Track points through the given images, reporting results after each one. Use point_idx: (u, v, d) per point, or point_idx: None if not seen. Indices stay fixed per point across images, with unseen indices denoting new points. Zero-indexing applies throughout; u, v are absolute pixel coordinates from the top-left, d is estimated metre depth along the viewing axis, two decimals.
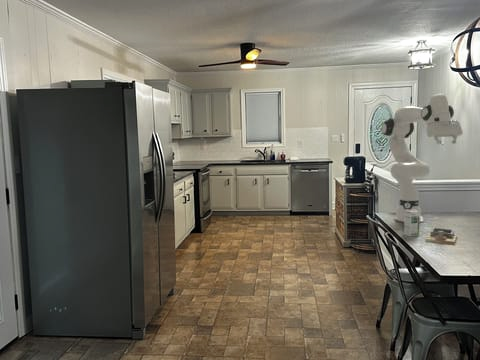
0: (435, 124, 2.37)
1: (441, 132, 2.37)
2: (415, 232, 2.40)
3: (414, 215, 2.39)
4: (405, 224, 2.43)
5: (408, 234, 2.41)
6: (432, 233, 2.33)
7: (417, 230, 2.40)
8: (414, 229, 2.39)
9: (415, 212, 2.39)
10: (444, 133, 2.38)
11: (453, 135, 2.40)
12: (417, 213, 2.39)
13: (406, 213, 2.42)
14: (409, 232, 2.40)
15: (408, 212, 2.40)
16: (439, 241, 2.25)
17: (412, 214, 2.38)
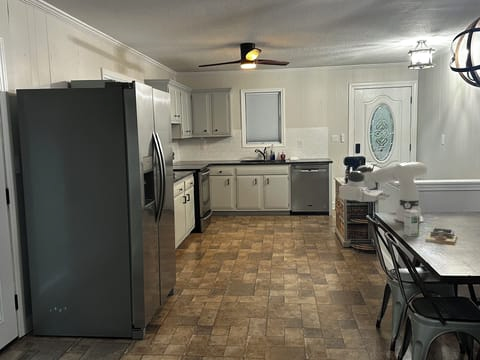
0: (366, 192, 2.47)
1: (375, 193, 2.47)
2: (415, 232, 2.40)
3: (414, 215, 2.39)
4: (405, 224, 2.43)
5: (408, 234, 2.41)
6: (432, 233, 2.33)
7: (417, 230, 2.40)
8: (414, 229, 2.39)
9: (415, 212, 2.39)
10: (377, 193, 2.48)
11: (381, 194, 2.54)
12: (417, 213, 2.39)
13: (406, 213, 2.42)
14: (409, 232, 2.40)
15: (408, 212, 2.40)
16: (439, 241, 2.25)
17: (412, 214, 2.38)
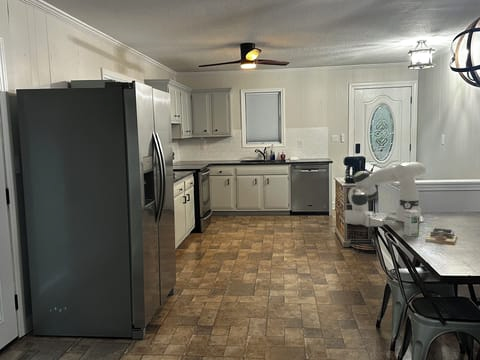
0: (372, 217, 2.46)
1: (382, 218, 2.46)
2: (415, 232, 2.40)
3: (414, 215, 2.39)
4: (405, 224, 2.43)
5: (408, 234, 2.41)
6: (432, 233, 2.33)
7: (417, 230, 2.40)
8: (414, 229, 2.39)
9: (415, 212, 2.39)
10: (383, 217, 2.48)
11: (387, 218, 2.54)
12: (417, 213, 2.39)
13: (406, 213, 2.42)
14: (409, 232, 2.40)
15: (408, 212, 2.40)
16: (439, 241, 2.25)
17: (412, 214, 2.38)
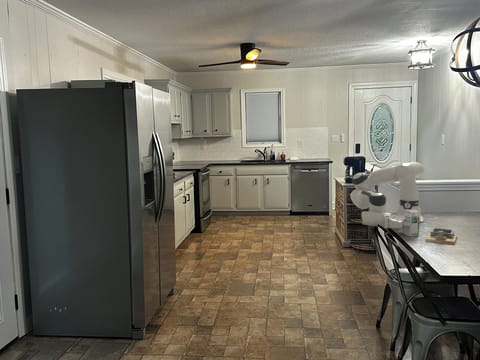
0: (391, 218, 2.41)
1: (401, 219, 2.41)
2: (415, 232, 2.40)
3: (414, 215, 2.39)
4: None
5: (408, 234, 2.41)
6: (432, 233, 2.33)
7: (417, 230, 2.40)
8: (414, 229, 2.39)
9: (415, 212, 2.39)
10: (402, 219, 2.43)
11: None
12: (417, 213, 2.39)
13: (406, 213, 2.42)
14: (409, 232, 2.40)
15: (408, 212, 2.40)
16: (439, 241, 2.25)
17: (412, 214, 2.38)
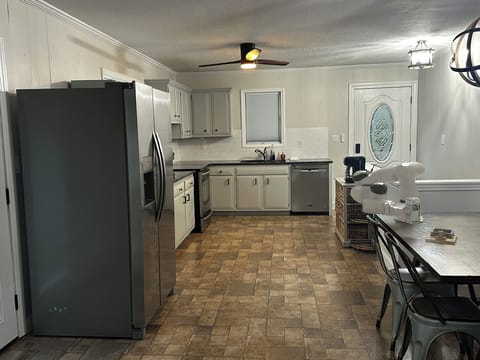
0: (392, 206, 2.40)
1: (402, 206, 2.40)
2: (416, 220, 2.39)
3: (415, 202, 2.38)
4: None
5: (409, 222, 2.40)
6: (432, 233, 2.33)
7: (418, 218, 2.39)
8: (415, 216, 2.38)
9: (416, 199, 2.38)
10: (403, 206, 2.42)
11: None
12: (418, 200, 2.38)
13: (407, 201, 2.41)
14: (410, 219, 2.39)
15: (409, 199, 2.39)
16: (439, 241, 2.25)
17: (413, 201, 2.37)
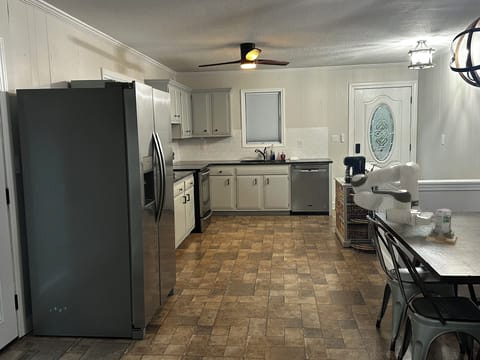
0: (418, 215, 2.35)
1: (428, 216, 2.35)
2: (446, 232, 2.33)
3: (446, 214, 2.32)
4: (436, 223, 2.36)
5: None
6: (432, 233, 2.33)
7: (449, 230, 2.33)
8: (446, 228, 2.33)
9: (447, 211, 2.32)
10: (429, 215, 2.36)
11: (432, 217, 2.42)
12: (449, 212, 2.32)
13: (437, 212, 2.35)
14: None
15: (440, 211, 2.33)
16: (439, 241, 2.25)
17: (444, 213, 2.32)
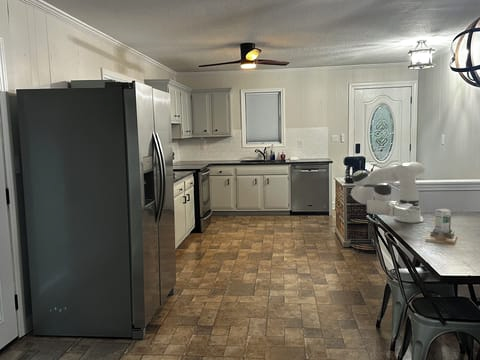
0: (396, 206, 2.40)
1: (406, 207, 2.40)
2: (446, 232, 2.33)
3: (446, 214, 2.32)
4: (436, 224, 2.36)
5: None
6: (432, 233, 2.33)
7: (448, 230, 2.33)
8: (446, 229, 2.33)
9: (447, 211, 2.32)
10: (407, 206, 2.41)
11: (411, 208, 2.47)
12: (449, 212, 2.32)
13: (437, 212, 2.35)
14: None
15: (439, 211, 2.33)
16: (439, 241, 2.25)
17: (444, 213, 2.32)
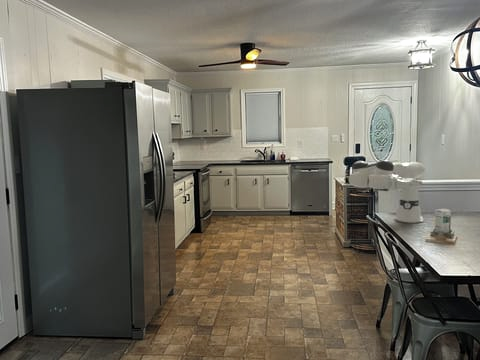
0: (398, 179, 2.38)
1: (408, 180, 2.38)
2: (446, 232, 2.33)
3: (446, 214, 2.32)
4: (436, 224, 2.36)
5: None
6: (432, 233, 2.33)
7: (448, 230, 2.33)
8: (446, 229, 2.33)
9: (447, 211, 2.32)
10: (409, 180, 2.40)
11: (413, 182, 2.45)
12: (449, 212, 2.32)
13: (437, 212, 2.35)
14: None
15: (439, 211, 2.33)
16: (439, 241, 2.25)
17: (444, 213, 2.32)
